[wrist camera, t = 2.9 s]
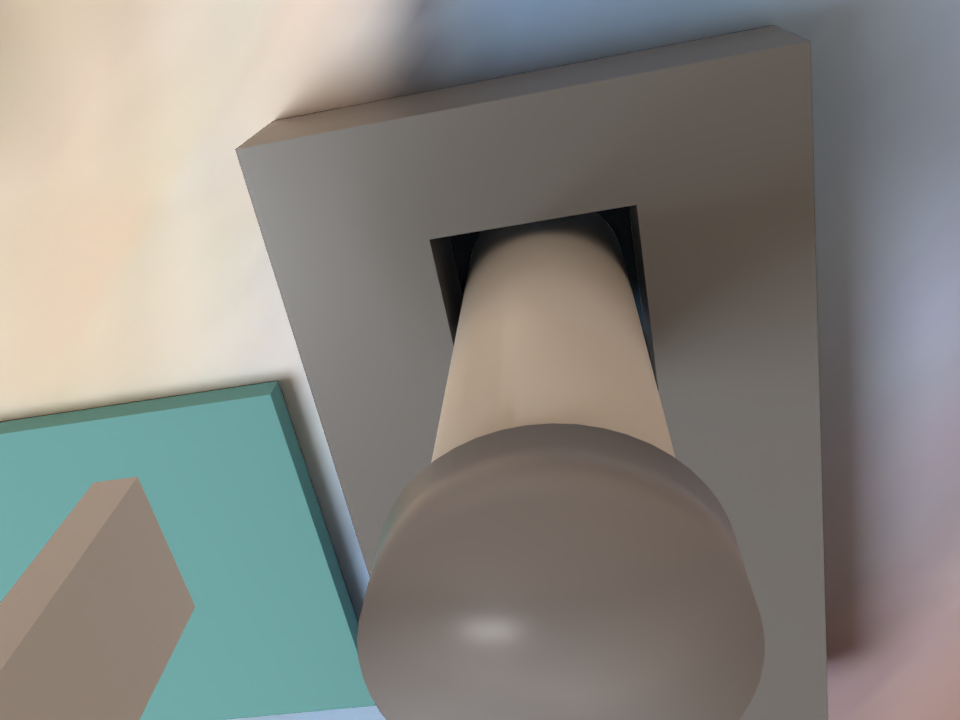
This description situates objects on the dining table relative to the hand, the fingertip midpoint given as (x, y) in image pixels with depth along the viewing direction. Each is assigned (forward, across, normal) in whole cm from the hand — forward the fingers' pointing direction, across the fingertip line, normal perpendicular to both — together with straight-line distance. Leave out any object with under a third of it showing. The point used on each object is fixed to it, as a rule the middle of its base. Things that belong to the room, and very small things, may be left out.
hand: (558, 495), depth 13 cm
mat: (+10, +14, +8) cm, 19 cm away
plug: (+10, 0, 0) cm, 10 cm away
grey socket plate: (+10, 0, +5) cm, 12 cm away
